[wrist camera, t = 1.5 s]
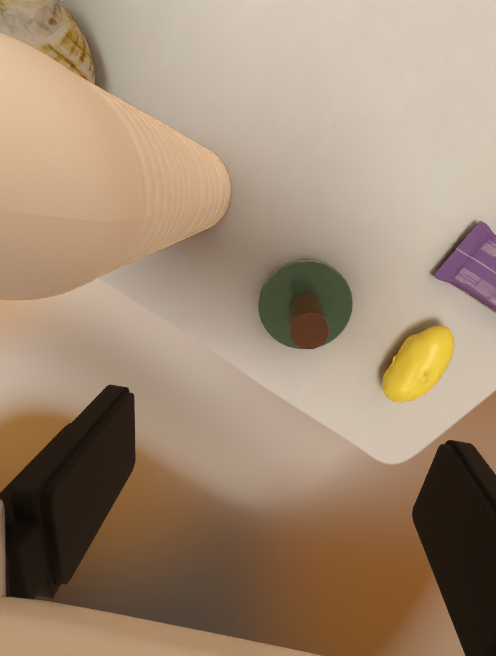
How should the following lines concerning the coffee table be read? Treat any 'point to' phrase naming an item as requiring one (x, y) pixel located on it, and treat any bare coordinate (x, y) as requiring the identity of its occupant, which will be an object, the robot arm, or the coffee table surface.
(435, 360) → the lemon
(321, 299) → the lid
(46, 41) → the seashell
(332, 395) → the coffee table surface
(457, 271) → the snack package
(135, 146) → the water bottle
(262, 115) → the coffee table surface
